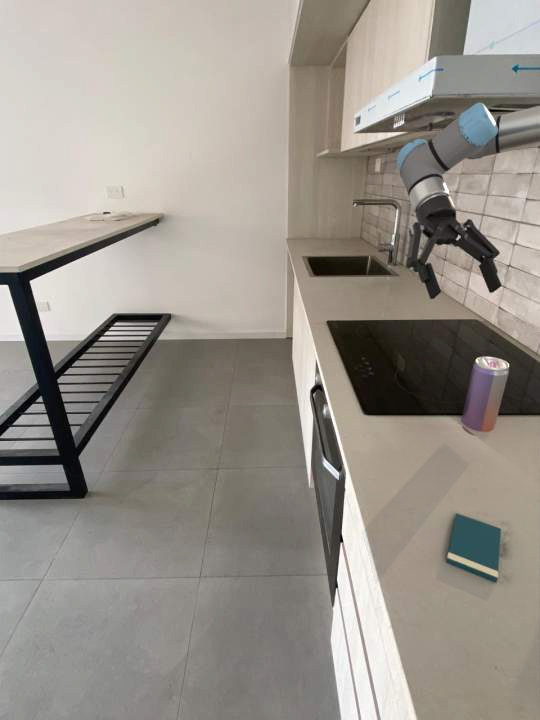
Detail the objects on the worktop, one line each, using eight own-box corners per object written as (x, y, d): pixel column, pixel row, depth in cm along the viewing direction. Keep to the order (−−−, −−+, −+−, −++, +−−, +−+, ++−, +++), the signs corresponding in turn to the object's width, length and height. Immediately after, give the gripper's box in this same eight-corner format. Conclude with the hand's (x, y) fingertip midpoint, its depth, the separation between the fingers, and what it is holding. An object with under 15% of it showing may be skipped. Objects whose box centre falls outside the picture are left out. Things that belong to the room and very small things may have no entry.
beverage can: (462, 435, 78) (476, 367, 72) (458, 418, 83) (472, 354, 77) (495, 440, 77) (513, 371, 70) (489, 423, 82) (506, 357, 75)
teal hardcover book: (455, 516, 60) (456, 512, 60) (499, 532, 57) (501, 528, 57) (446, 562, 53) (447, 558, 53) (496, 583, 50) (497, 578, 50)
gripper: (472, 215, 91) (506, 296, 84) (372, 220, 86) (400, 307, 79) (494, 190, 84) (533, 277, 77) (387, 195, 79) (419, 288, 72)
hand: (466, 292), depth 78 cm, fingers open, 13 cm apart
